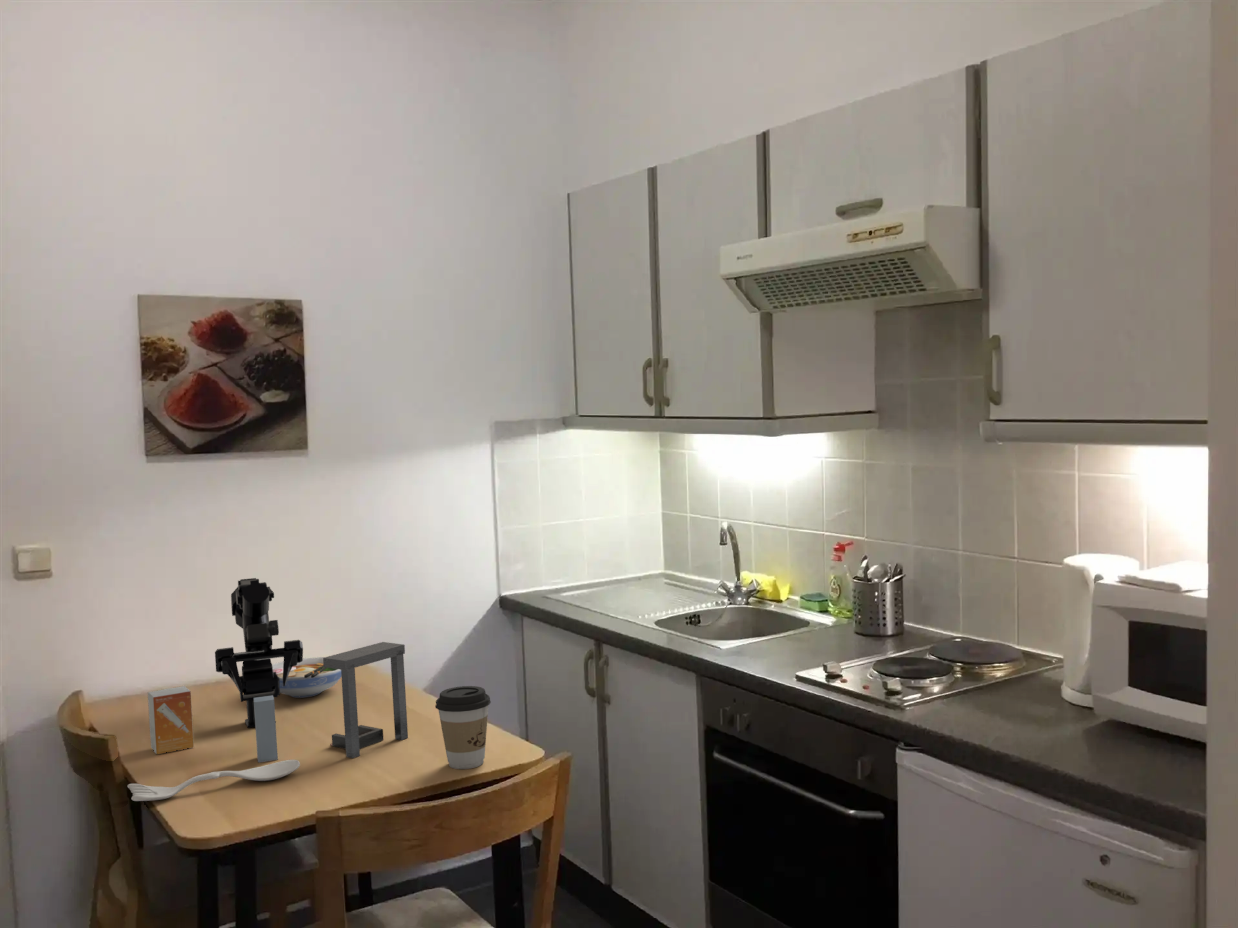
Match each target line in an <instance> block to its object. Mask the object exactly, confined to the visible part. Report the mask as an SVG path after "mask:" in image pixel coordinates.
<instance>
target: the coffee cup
mask: <svg viewBox="0 0 1238 928" xmlns="http://www.w3.org/2000/svg"><path fill="white" fill-rule="evenodd" d="M491 703H492V701H491V697H490V695H489V694H487V693H486V690H485V688H483V687H482V686H476V685H462V686H454V687H448V688H446V689H443V690H442V691H441V692H440V693H439V697H438V698H437V699H436V700H435V709H437V711H438V715H439V721H440V726H441V727H440V728H441V732H442V737H443V738H442V739H443V742H444V743H443V744H444V748H445V754H446V758H447V759H446V760H447V763H448V765H449V766H448V767H449V768H450V769H451V768H452V769H456V770H469V769H473V768H474V769H475V768H477V767H480V766H483V764H484V763H485V761H484V759H485V758H486V757H485V755H486V745H487V744H486V743H487V730H488V717H489V716H488V715H489V705H490V704H491Z"/></svg>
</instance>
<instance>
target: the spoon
mask: <svg viewBox="0 0 1238 928" xmlns="http://www.w3.org/2000/svg"><path fill="white" fill-rule="evenodd" d="M300 767H301V762H300V761H299V760H298V759H287V760H281V761H277V762H273V763H269V764H266V765H262V766H257V767H253V768H247V769H243V770H222V771H219V770H218V771H212V772H208V773H203V774H199V775H196V776H193V777H191V778H189V779H187V780H186V781H183V782H182V783H180V784H178V785H176V786H172V787H167V786H152V785H151V786H150V785H144V784H140V783H129V784H127V788H128V789H129V790H130V793H132V796H131V800H132V801H134V802H147V801H149V802H151V801H159V800H160V801H161V800H166V799H170V798H171V797H174V796H175V795H177V794H178V793H180V792H181V791H183V790H184V789H186V788H187V787H189V786H190V785H192V784H195V783H197V782H202V781H205V780H215V779H216V780H217V779H218V778H221V777H233V778H234V777H235V778H240V779H244V780H249V781H256V782H269V781H274V780H278V779H281V778H283V777H285V776H288V775H289V774H292V773H293V772H296V771H297V770H298V769H299V768H300Z"/></svg>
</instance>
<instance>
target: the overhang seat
mask: <svg viewBox="0 0 1238 928" xmlns="http://www.w3.org/2000/svg"><path fill="white" fill-rule="evenodd" d="M405 653H406V648H405V644H402V643H393V642H388V641H387V642H385V641H382V642H381V641H380V642H377V643H374V644H370V645H366V646H362V647H360V648H359V647H358V648H355V649H352V650H347V651H344V652H340V653H336V654H332V655H329V656H323V657H324V658H323V665H324V667H327V668H333V669H340V670H341V676H342V677H341V688H342V689H341V690H342V704H343V705H342V706H343V708H342V709H343V719H344V720H343V723H344V725H343V727H344V734H341V733H334V734H331V743H329V746H332V747H335V748H340V749H345V757H346V758H349V759H355V758H358V757H360V756H361V752H360V750H361V749H363V748H366V747H368V746H371V745H374V744H378V743H380V742H383V741H384V729H382V728H379V727H373V726H369V725H365V724H364V725H363V724H360V725H359V717H358V702H357V699H358V698H357V686H356V685H357V683H356V682H357V680H356V668H359V667H362V666H365V665H368V664H369V665H370V664H374V663H376V662H381V661H383V660H387V659H390V670H391V672H390V673H391V685H392V686H391V688H392V690H391V692H392V703H393V704H392V707H393V708H392V709H393V721H394V722H393V725H394V726H393V727H394V739H395V740H398V741H403V740H406V739H409V733H408V731H409V729H408V728H409V727H408V716H407V714H408V711H407V697H406V695H407V694H406V683H405V682H406V678H405V677H406V676H405V661H404V660H405V659H404V654H405Z"/></svg>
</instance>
